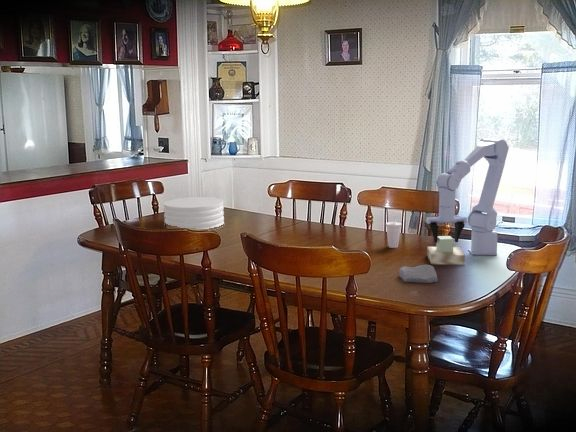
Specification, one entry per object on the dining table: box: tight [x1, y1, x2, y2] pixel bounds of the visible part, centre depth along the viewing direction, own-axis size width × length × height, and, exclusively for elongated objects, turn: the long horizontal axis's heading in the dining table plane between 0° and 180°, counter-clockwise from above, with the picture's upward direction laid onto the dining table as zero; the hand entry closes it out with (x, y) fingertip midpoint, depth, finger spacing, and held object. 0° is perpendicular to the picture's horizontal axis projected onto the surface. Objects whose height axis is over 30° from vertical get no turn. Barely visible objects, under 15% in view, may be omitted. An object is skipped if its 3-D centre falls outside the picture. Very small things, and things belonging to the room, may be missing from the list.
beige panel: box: [426, 246, 466, 266], centre depth 243 cm, size 12×12×4 cm
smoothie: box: [385, 212, 402, 249], centre depth 262 cm, size 6×6×14 cm
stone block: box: [398, 264, 438, 284], centre depth 220 cm, size 12×5×10 cm
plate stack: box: [163, 196, 225, 229], centre depth 309 cm, size 28×28×12 cm
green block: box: [435, 235, 455, 253], centre depth 242 cm, size 5×5×5 cm
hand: (445, 241), depth 242 cm, fingers open, 7 cm apart
